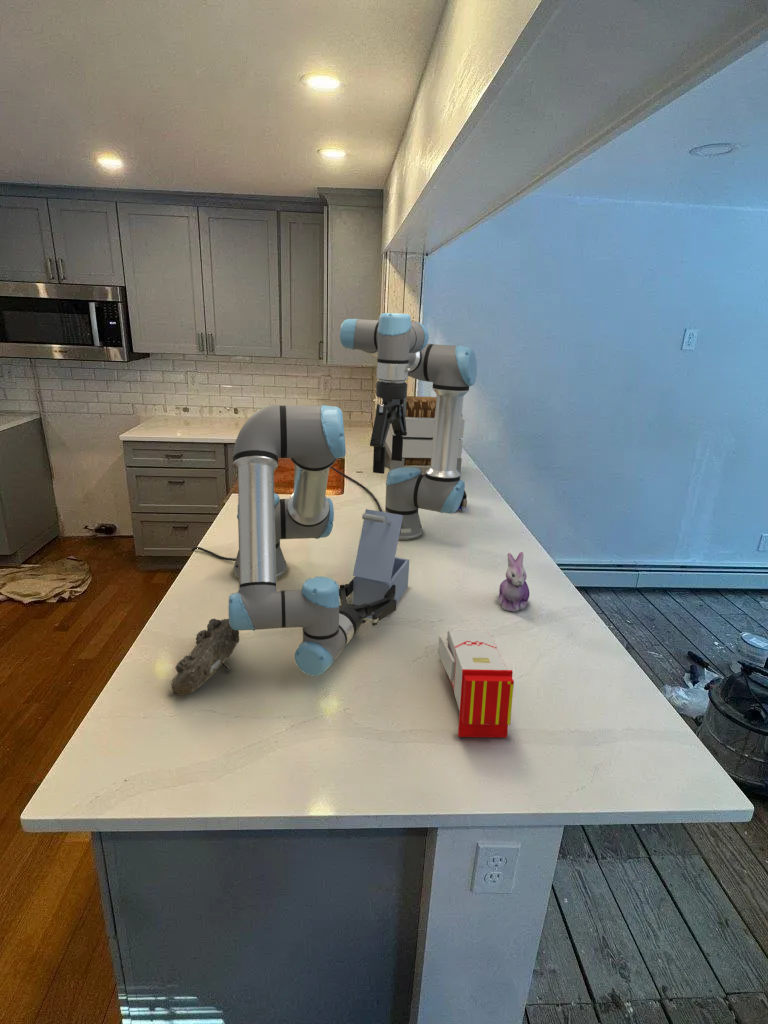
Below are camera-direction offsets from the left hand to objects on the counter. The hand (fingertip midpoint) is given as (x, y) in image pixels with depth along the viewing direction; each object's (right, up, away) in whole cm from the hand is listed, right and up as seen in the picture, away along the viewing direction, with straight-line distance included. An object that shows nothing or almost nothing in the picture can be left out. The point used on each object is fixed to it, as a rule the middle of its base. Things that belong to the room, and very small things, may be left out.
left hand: (374, 585), depth 148 cm
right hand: (+3, +31, -5) cm, 31 cm away
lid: (+1, +10, -2) cm, 11 cm away
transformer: (+20, +38, +126) cm, 134 cm away
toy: (+20, -18, -30) cm, 41 cm away
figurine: (+38, -6, +6) cm, 39 cm away
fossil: (-35, -15, -26) cm, 46 cm away
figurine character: (+32, +21, +81) cm, 89 cm away
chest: (+2, -4, +7) cm, 8 cm away
